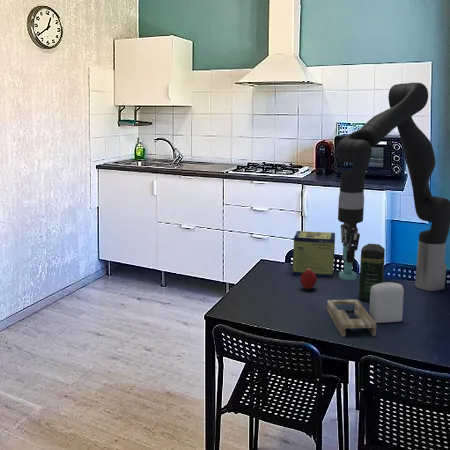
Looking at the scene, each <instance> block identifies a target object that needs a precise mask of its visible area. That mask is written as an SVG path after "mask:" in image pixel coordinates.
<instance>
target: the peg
mask: <svg viewBox="0 0 450 450" xmlns="http://www.w3.org/2000/svg"><path fill="white" fill-rule="evenodd" d="M355 256H356V255H355ZM355 256H354V260H355ZM342 260H343V261H344V263H343V264H344V268H343V270H340V271H339V272H338V274H339V276H338V278H339V280H344V281H355V280H357V272H356V271H353V263H348V262H347V245H345V246H343V245H342Z"/></svg>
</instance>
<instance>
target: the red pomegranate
mask: <svg viewBox="0 0 450 450" xmlns="http://www.w3.org/2000/svg"><path fill="white" fill-rule="evenodd" d="M299 279H300V284H301V285H302V287H304V289H306V290H310V289H312V288H314V286H315V285H316V284H317V281H318V277H316V275H315V274H314V273H313V272H312V271H311V270H310V268H308V269H307V271H305V272H304V273H303V274H302V275H301V276H300V278H299Z"/></svg>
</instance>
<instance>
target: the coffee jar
mask: <svg viewBox="0 0 450 450" xmlns="http://www.w3.org/2000/svg"><path fill="white" fill-rule="evenodd" d="M385 251H386V250H385V247H383V246H382V245H381V244H379V243H378V244H377V243H367V244H365V245H363V247H362V248H361V250H360V265H359V281H358V298H359V299H360V300H363V301H366V302H370V289H371V286H373V285H376V284H379V283H384V275H385V274H384V272H385V257H386V256H385Z"/></svg>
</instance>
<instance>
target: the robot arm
mask: <svg viewBox="0 0 450 450" xmlns="http://www.w3.org/2000/svg"><path fill="white" fill-rule="evenodd" d="M387 98H388V105H389V108H387V109H385V110H384V111H382V112H380V113H378V114H376V115H374V116H372V118H370V119H369V120H368V121H366V123H364V125H363V126H362V127H361V128H359V129H358V130H355V131H353V132H352V133H349V134H348V135H345V136H344V137H343V138H342V139H340V140H339V142H338V143H337V145H336V147H335V156H336V158H337V160H338V161H340V162H342V163H348V164H353V165H352V167H351V170H346V171H343V172H341V175H340V178H339V179H340V180H339V181H340V182H339V194H338V205H337V207H338V208H337V209H338V210H337V220H338V222H340V223H342V224H340V235H341V237H340V238H341V241H340V242H341V244H342V247H343V246H345V245H347V262H348V263H352V264H353V263H354V262H355V259H354V256H356V254H355V253H356V251H358V248H359V241H360V237H361V234H360V232H359V228H358V227H357V225H358V224H360V223H362V222H364V211H365V210H364V208H365V190H364V189H365V177H366V175H367V171H368V168H369V164H370V162H371V159H372V155H373V150H372V148H375V147H376V146H378V145H379V143H381V142H382V141H383V140H384V138H386V137H387V136H388V135H389V134H390V133H391V132H392V131H393V130H394V129H396V128H397V131H398V135H399V137H400V141H401V145H402V149H403V154H404V158H405V162H406V166H407V169H408V173H409V174H408V175H409V177H410V179H409V180H410V183H411V187H412V188H411V189H412V194H413V203H414V210H415V213H416V214H415V215H417V217H418V219H420V220H421V221H424V222H428V223H431V224H430V229H429V230H427V229H426V230H422V231H420V232H419V234H418V242H417V243H418V246H417V255H416V256H417V257H416V270H415V282H414V283H415V284H414V286H415V288H417V289H420V290H423V291H427V292H429V291H430V292H435V291H441V290H445V286H446V275H447V274H446V273H447V263H446V262H445V260H446V259H445V258H446V256H445V255H446V248H447V247H446V246H447V239H448V235H449V232H450V200H449V199H448V198H445V197H440V196H435V195H432V193H431V188H430V179H431V177H432V175H433V173H434V170H435V167H436V158H435V151H434V147H433V144H432V142H431V140H430V139H429V138H428V136H427V135H426V134H425V133H424V132H423V131H422V130H421V129H420V128H419V127H418V125H417V124H416V122H415V121H414V119H413V116H414V115H416V114H418V113H420V112H421V111H422V110H423V109H424V108H425V107H426V105H427V103H428V101H429V91H428V88H427V86H426V85H425V84H424V83H422V82H407V83H406V82H405V83H397V84H394V85H391V87H390V89H389V91H388V97H387Z"/></svg>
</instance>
